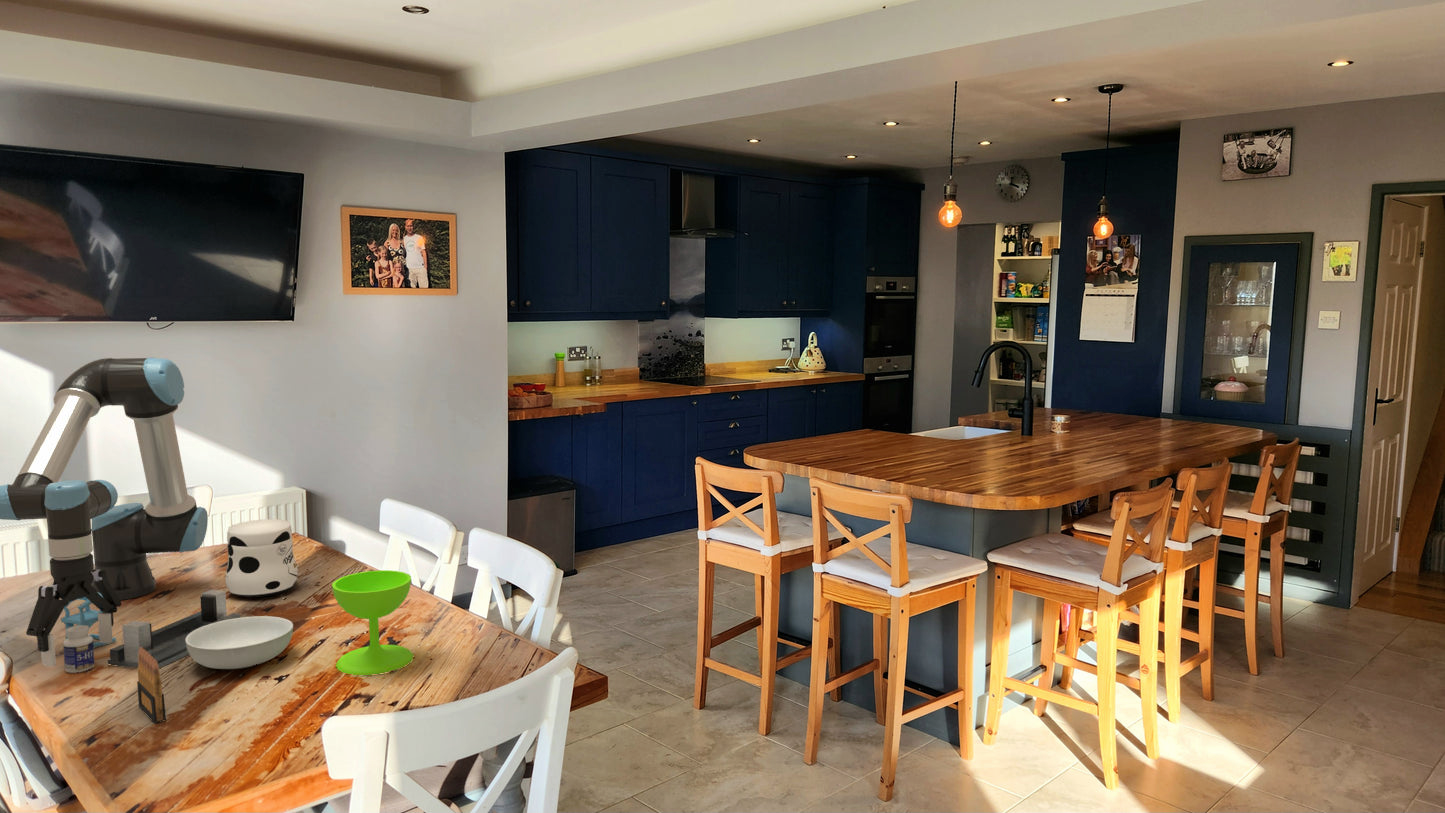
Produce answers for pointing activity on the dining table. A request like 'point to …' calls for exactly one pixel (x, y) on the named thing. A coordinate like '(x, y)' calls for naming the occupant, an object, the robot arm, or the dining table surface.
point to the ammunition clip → (150, 687)
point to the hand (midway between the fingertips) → (78, 653)
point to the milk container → (260, 558)
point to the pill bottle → (78, 649)
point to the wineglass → (373, 618)
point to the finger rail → (168, 633)
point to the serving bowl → (239, 641)
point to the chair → (83, 618)
